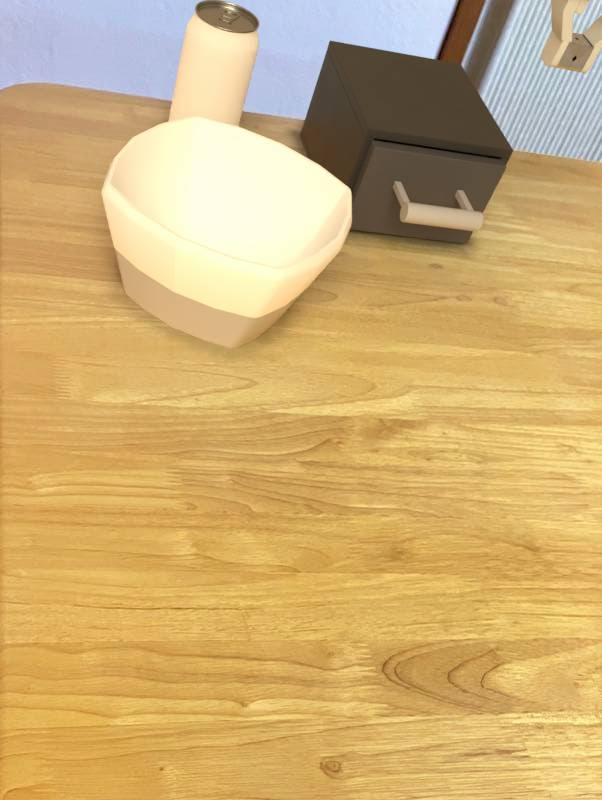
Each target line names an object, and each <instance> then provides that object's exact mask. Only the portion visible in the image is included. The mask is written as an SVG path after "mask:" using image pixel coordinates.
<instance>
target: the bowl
mask: <svg viewBox="0 0 602 800" xmlns="http://www.w3.org/2000/svg"><path fill="white" fill-rule="evenodd" d="M101 187H102V188H101V191H100V193H101V198H102V202H103V207H104V210H105V216H106V221H107V225H108V229H109V233H110V238H111V242H112V246H113V248H114V252H115V258H116V261H117V266H118V270H119V274H120V279H121V284H122V287H123V291H124V293H125V294H126V296H127V297H128V298H130V299H131V301H133V302H134V303H136V305H138V306H139V307H140V308H141V309H142V310H144V311H145V312H147V313H148V314H150V315H152V316H153V317H154V318H156V319H157V320H159V321H161V322H162V323H164V324H166V325H167V326H169V327H170V328H172V329H175V330H177V331H180V332H182V333H185V334H187V335H189V336H192V337H195V338H197V339H200V340H201V341H204V342H207V343H211V344H214V345H218V346H222V347H224V348H228V349H238V348H241V347H243V346H245V345H247V344H248V343H251V342H253V341H254V340H256V339H258V338H259V337H261V335H263V334H264V333H265V332H267V331H268V330H269V329H270V328H272V326H274V325H275V324H276V323H277V322H278V321H279V320H280V318H282V316H283V315H284V314H285V313H286V311H287V310H288V309H289V308H290V307H291V306H292V305H293V304H294V303H295V301H297V300H298V298H299V297H300V296H301V295H302V294H303V293H304V292H305V291H306V290H307V289H308V288H309V287H310V285H311V284H312V283H313V282H314V281H315V280H316V279H317V278H318V277H319V275H321V273H322V272H323V271H324V270H325V269H326V267H328V265H329V264H330V263H331V262H332V261H333V260H334V259H335V258H336V256H337V255H338V254H339V253H340V252H341V250H342V248H343V246H344V244H345V241H346V239H347V237H348V234H349V232H350V230H351V229H350V228H351V224H352V194H351V190H350V188H349V187H348V186H346V185H345V184H344V183H342V182H341V181H340V180H339V179H337V178H336V177H335V176H333V175H332V174H331V173H329V172H328V171H327V170H326V169H324V168H323V167H322V166H320V165H319V164H317V163H315V162H313V161H312V160H310V159H308V158H307V156H304V155H303V154H301V153H299V152H297V151H295V150H294V149H292V148H290V147H289V146H287V145H285V144H284V143H281V142H279V141H277V140H274V139H271V138H269V137H267V136H263V135H261V134H259V133H256V132H254V131H251V130H248V129H245V128H243V127H241V126H235V125H231V124H227V123H224V122H220V121H216V120H212V119H209V118H205V117H201V116H190V117H186V118H182V119H177V120H173V121H169V122H168V121H166V122H165V121H164V122H161V123H159V124H157V125H155V126H153V127H151V128H149V129H147V130H145V131H143V132H141V133H138V134H136V135H134V136H132V137H131V138H130V140H129V141H128V142H127V143H126V145H124V146H123V147H122V149H121V150H120V151H119V152H118V153H117V154H116V156H115V157H114V158H113V159H112V160H111V162H110V164H109V166H108V169H107V173H106V176H105V179H104V182H103V184H102V186H101Z"/></svg>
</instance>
